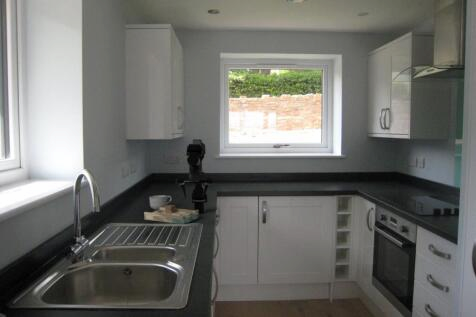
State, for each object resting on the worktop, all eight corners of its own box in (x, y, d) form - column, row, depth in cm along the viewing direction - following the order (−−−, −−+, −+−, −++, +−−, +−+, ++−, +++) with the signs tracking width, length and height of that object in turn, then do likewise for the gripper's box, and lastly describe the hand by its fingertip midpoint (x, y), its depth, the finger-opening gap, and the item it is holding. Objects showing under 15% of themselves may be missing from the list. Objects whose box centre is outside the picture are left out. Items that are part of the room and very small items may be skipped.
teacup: (149, 211, 229) (149, 198, 228) (149, 207, 240) (148, 195, 239) (172, 209, 233) (172, 196, 232) (171, 206, 243) (171, 193, 243)
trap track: (160, 213, 222) (160, 206, 221) (198, 217, 211) (198, 209, 211) (144, 219, 208) (144, 211, 208) (184, 224, 197) (184, 215, 197)
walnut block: (169, 211, 216) (169, 204, 216) (175, 212, 214) (175, 205, 214) (165, 213, 212) (165, 206, 212) (171, 213, 211) (171, 206, 210)
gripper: (176, 166, 183) (176, 198, 181) (214, 166, 186) (214, 198, 184) (176, 168, 194) (175, 198, 192) (212, 168, 197) (212, 198, 195)
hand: (194, 198), depth 191 cm, fingers open, 9 cm apart
